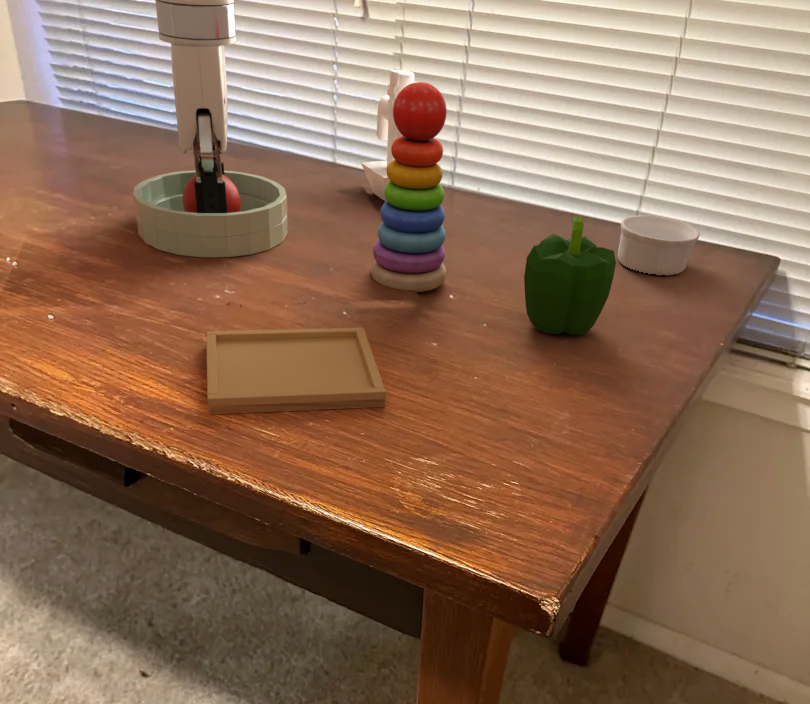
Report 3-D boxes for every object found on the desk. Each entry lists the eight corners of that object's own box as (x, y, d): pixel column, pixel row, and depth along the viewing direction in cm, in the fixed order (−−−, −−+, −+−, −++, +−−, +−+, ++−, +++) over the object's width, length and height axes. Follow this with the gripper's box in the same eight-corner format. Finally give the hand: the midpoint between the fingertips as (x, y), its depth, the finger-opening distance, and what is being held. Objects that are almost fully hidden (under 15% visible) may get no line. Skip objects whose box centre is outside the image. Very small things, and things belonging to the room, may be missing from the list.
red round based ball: (185, 240, 90) (177, 170, 86) (185, 221, 95) (178, 153, 90) (243, 240, 91) (239, 171, 87) (241, 221, 96) (237, 154, 92)
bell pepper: (585, 353, 76) (608, 246, 70) (504, 330, 79) (520, 225, 72) (613, 322, 82) (637, 221, 75) (537, 302, 85) (554, 203, 78)
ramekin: (626, 245, 100) (634, 209, 97) (697, 262, 97) (708, 225, 94) (602, 266, 94) (610, 228, 91) (677, 285, 91) (688, 246, 88)
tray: (208, 414, 63) (207, 398, 62) (207, 345, 72) (206, 331, 72) (385, 407, 66) (386, 391, 65) (363, 341, 75) (363, 327, 74)
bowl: (135, 263, 86) (128, 215, 83) (143, 212, 98) (137, 169, 95) (293, 262, 89) (292, 215, 86) (281, 213, 101) (280, 170, 98)
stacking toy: (440, 299, 83) (455, 96, 71) (364, 291, 84) (366, 88, 72) (449, 270, 89) (465, 78, 77) (378, 263, 90) (383, 71, 78)
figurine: (403, 184, 114) (410, 62, 105) (435, 205, 108) (446, 77, 98) (356, 188, 111) (359, 63, 102) (386, 210, 105) (392, 78, 95)
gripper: (160, 9, 86) (179, 186, 98) (153, 35, 73) (176, 236, 85) (232, 12, 88) (243, 186, 99) (238, 39, 75) (249, 236, 86)
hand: (212, 208), depth 92 cm, fingers closed on red round based ball, 6 cm apart
